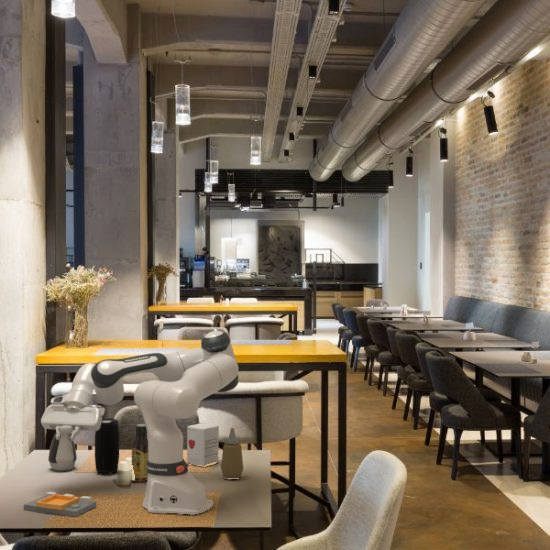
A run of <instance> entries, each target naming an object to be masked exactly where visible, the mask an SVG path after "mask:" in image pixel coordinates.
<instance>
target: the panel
mask: <svg viewBox="0 0 550 550" xmlns="http://www.w3.org/2000/svg"><path fill="white" fill-rule="evenodd" d="M94 507H95V508H96V507H97V501H94V500H93V499H92V496H85V495H83V496H81V497H80V496H75V494H71V493H65V494H63V495H62V494H58V493H57V492H54V491H48V492H46V493H45V495H43V496H41V497H38V498H36V499H35V500H31V501H29V502H27V503H25V504H23V511H29V512H36V511H37V513H45V514H52V515H58V514H60V516H65V515H67V517H72V516H74V517H75V518H77V517H78V515H79V516H81V515H83V514H85V513H86V512H88V510H89V511H90V509H91V510H93V509H95V508H94ZM92 508H93V509H92ZM84 512H85V513H84ZM82 513H83V514H82ZM80 514H81V515H80ZM76 516H77V517H76Z"/></svg>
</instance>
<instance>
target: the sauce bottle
mask: <svg viewBox="0 0 550 550" xmlns="http://www.w3.org/2000/svg"><path fill="white" fill-rule="evenodd" d="M147 460H148V435H147V429H146V425H145V423H138V424H136V425H135V439H134V442H133V444H132V447H131V463H132V464H131V465H133V470H134V474H135V482H136V483H144V482H147V481H146V480H147Z"/></svg>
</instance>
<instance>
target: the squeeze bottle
mask: <svg viewBox="0 0 550 550" xmlns="http://www.w3.org/2000/svg"><path fill="white" fill-rule="evenodd" d="M229 430H230V431H229V435H228V437H226V438H225V444H224V445H223V446H222V455H221V465H220V469H221V473H222V476H223V478H224V477H225V478H239V477H240V476H242V474H243V471H244V462H243V461H244V460H243V451H242V445H241V444H240V442H239V441H240V440H239V437H237V436H236V432H235V428H234V427H231V428H230V429H229ZM240 478H241V477H240Z"/></svg>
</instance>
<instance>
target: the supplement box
mask: <svg viewBox="0 0 550 550" xmlns="http://www.w3.org/2000/svg"><path fill="white" fill-rule="evenodd" d="M186 429H187V437H186V438H187V440H186V441H187V442H186V443H187V444H186V445H187V446H186V448H187V449H186V463H189V462H190V464H194V465H202V466H205V465H207V464H210V463H213V462H217V461H218V462H219V439H220V438H219V435H220V434H219V433H220V432H219V429H220V426H219V425H218V424H210V423H205V422H200V423H197V424H191V425H188V426H187V428H186Z"/></svg>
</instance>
